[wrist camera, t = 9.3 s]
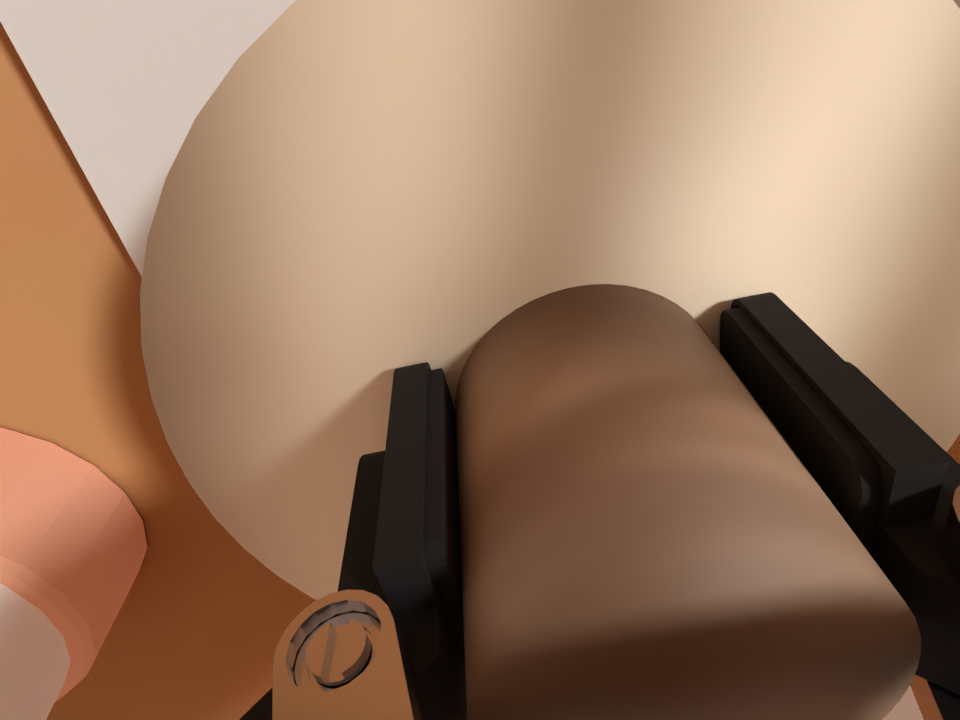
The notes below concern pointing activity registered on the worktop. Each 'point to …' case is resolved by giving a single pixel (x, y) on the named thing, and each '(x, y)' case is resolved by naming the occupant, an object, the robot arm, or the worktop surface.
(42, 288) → the worktop surface
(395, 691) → the robot arm
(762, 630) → the lid
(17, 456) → the pepper shaker
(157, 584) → the worktop surface
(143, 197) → the mat
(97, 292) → the worktop surface
